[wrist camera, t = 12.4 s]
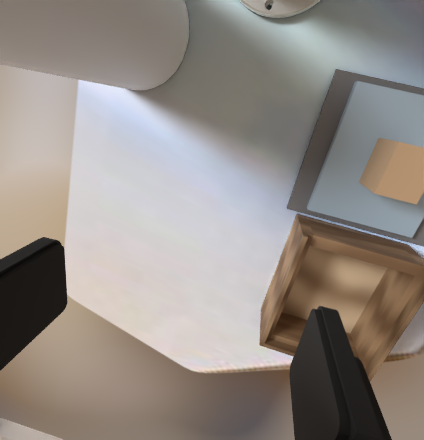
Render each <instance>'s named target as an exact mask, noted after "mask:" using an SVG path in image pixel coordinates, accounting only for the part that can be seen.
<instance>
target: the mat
mask: <svg viewBox="0 0 424 440" xmlns="http://www.w3.org/2000/svg"><path fill="white" fill-rule="evenodd" d="M356 81H360V82H365V83H369V84H374V85H378V86H383V87H387V88H392V89H396V90H401V91H405V92H410V93H415V94H419V95H424V89H423V88H418V87H414V86H409V85H405V84H401V83H396V82H392V81H387V80H383V79H378V78H374V77H369V76H365V75H360V74H356V73H351V72H347V71H342V70H338V69H337V70H336V71H335V74H334V76H333V79H332V82H331V85H330V88H329V90H328V93H327V96H326V99H325V102H324V104H323V107H322V110H321V113H320V116H319V118H318V121H317V124H316V127H315V130H314V132H313V135H312V138H311V141H310V144H309V146H308V149H307V152H306V155H305V158H304V160H303V163H302V166H301V169H300V172H299V174H298V177H297V180H296V183H295V186H294V188H293V191H292V194H291V197H290V200H289V202H288V205H287V209H291V210H295V211H298V212H302V213H305V214H309V215H313V216H316V217H320V218H324V219H327V220H331V221H334V222H338V223H342V224H345V225H349V226H352V227H356V228H360V229H363V230H367V231H371V232H374V233H378V234H381V235H385V236H389V237H392V238H396V239H399V240H403V241H407V242H410V243H414V244H418V245H421V246H424V218H423V220H422V222H421V223H420V225H419V227H418V228H417V230H416V232H415V234H414V235H413V237H412V238H410V237H407V236H403V235H399V234H395V233H392V232H388V231H384V230H381V229H377V228H373V227H370V226H366V225H362V224H359V223H355V222H351V221H347V220H344V219H340V218H336V217H333V216H329V215H325V214H322V213H318V212H314V211H311V210H308V209H307V205H308V203H309V200H310V198H311V195H312V192H313V190H314V187H315V184H316V182H317V179H318V177H319V174H320V171H321V169H322V166H323V164H324V161H325V158H326V156H327V153H328V151H329V148H330V145H331V143H332V140H333V138H334V135H335V132H336V130H337V127H338V125H339V122H340V119H341V117H342V114H343V112H344V109H345V106H346V104H347V101H348V98H349V96H350V93H351V91H352V88H353V85H354V83H355V82H356Z"/></svg>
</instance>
